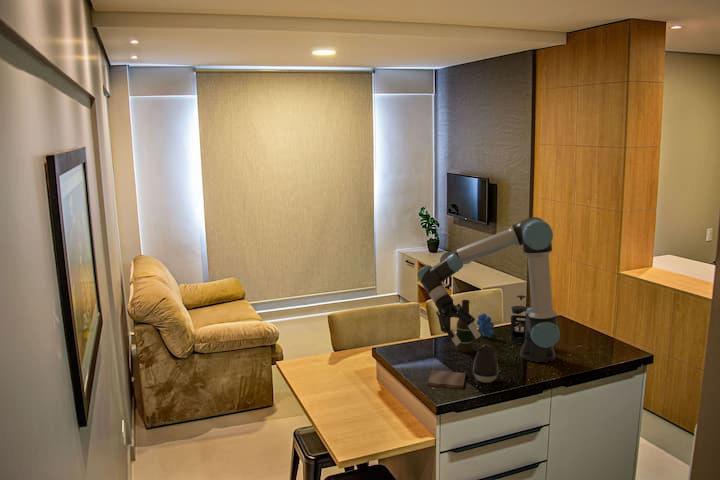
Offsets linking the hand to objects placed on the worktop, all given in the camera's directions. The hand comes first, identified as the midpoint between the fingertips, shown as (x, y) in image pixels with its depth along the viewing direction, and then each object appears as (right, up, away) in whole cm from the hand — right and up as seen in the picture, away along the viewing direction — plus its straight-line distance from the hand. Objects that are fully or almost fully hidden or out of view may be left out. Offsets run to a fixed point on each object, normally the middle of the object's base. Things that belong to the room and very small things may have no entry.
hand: (468, 340), depth 251 cm
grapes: (+17, -7, +53) cm, 56 cm away
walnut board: (-10, -16, -4) cm, 19 cm away
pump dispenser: (+6, -16, -3) cm, 17 cm away
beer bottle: (+4, -10, +34) cm, 36 cm away
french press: (+33, -8, +47) cm, 58 cm away
